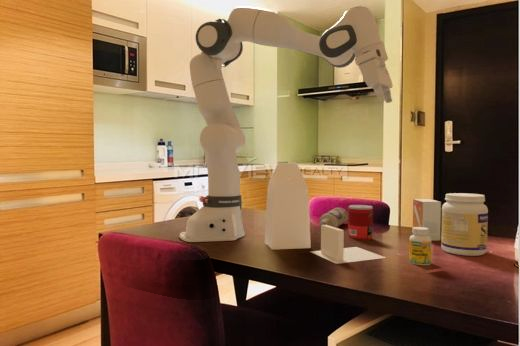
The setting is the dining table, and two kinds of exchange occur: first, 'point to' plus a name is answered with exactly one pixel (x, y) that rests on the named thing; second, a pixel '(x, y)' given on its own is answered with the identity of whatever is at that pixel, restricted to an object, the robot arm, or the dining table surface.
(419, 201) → the small box
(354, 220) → the canned food
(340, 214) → the decorative bottle
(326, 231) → the tile
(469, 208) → the supplement tub
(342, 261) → the mat
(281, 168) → the milk
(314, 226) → the dining table surface
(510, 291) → the dining table surface
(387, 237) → the dining table surface
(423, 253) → the supplement bottle
